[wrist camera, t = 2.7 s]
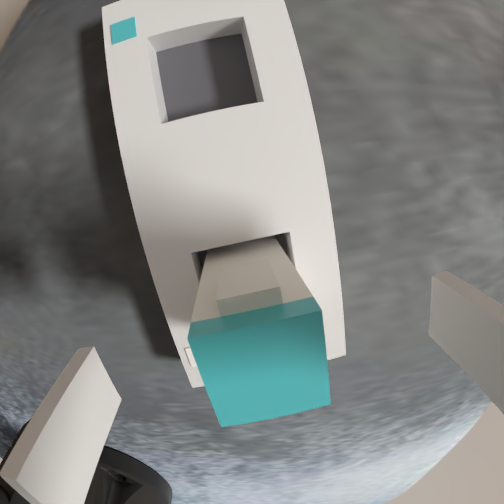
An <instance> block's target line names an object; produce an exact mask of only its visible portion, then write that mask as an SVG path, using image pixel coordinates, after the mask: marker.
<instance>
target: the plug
mask: <svg viewBox="0 0 504 504" xmlns="http://www.w3.org/2000/svg"><path fill="white" fill-rule="evenodd" d="M187 339H188V342H189V345H190V348H191V351H192V353H193V356H194V359H195V362H196V364H197V367H198V370H199V372H200V375H201V378H202V380H203V383H204V385H205V388H206V391H207V393H208V396H209V398H210V401H211V403H212V406H213V408H214V410H215V413H216V415H217V418H218V420H219V422H220V425H221V427H226V426H232V425H239V424H245V423H251V422H256V421H262V420H267V419H272V418H277V417H281V416H286V415H290V414H295V413H299V412H303V411H307V410H311V409H315V408H319V407H322V406H326V405H330V404H331V401H330V387H329V375H328V364H327V353H326V343H325V333H324V324H323V315H322V309H321V308H320V306H319V305H318V303H317V301H316V300H315V298H314V297H313V295H312V294H311V292H310V290H309V289H308V287H307V286H306V284H305V283H304V281H303V279H302V278H301V276H300V275H299V273H298V272H297V270H296V269H295V267H294V266H293V264H292V262H291V261H290V259H289V258H288V256H287V255H286V253H285V252H284V250H283V249H282V247H281V246H280V244H279V242H278V241H277V239H276V238H275V236H274V235H273V236H268V237H263V238H259V239H254V240H249V241H245V242H240V243H235V244H231V245H226V246H222V247H217V248H212V249H208V250H207V254H206V258H205V262H204V267H203V271H202V275H201V279H200V283H199V288H198V292H197V296H196V301H195V305H194V310H193V314H192V319H191V323H190V328H189V332H188V337H187Z"/></svg>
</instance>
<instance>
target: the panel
mask: <svg viewBox="0 0 504 504" xmlns="http://www.w3.org/2000/svg"><path fill="white" fill-rule="evenodd" d="M102 18H103V33H104V44H105V55H106V64H107V72H108V80H109V88H110V95H111V102H112V108H113V114H114V120H115V126H116V132H117V137H118V142H119V148H120V153H121V158H122V162H123V167H124V172H125V176H126V181H127V185H128V190H129V194H130V198H131V202H132V206H133V210H134V214H135V218H136V222H137V226H138V229H139V233H140V237H141V240H142V244H143V247H144V251H145V254H146V258H147V261H148V265H149V268H150V271H151V274H152V278H153V281H154V284H155V287H156V290H157V293H158V296H159V299H160V302H161V305H162V308H163V311H164V314H165V317H166V320H167V323H168V326H169V328H170V331H171V334H172V337H173V339H174V342H175V345H176V348H177V350H178V353H179V355H180V358H181V361H182V363H183V366H184V368H185V371H186V373H187V376H188V378H189V381H190V383H191V385H192V388H194V387H201V386H205V385H204V383H203V380H202V378H201V375H200V372H199V370H198V367H197V364H196V362H195V359H194V356H193V353H192V351H191V348H190V345H189V342H188V339H187V337H188V332H189V328H190V323H191V319H192V314H193V310H194V305H195V301H196V296H197V292H198V288H199V283H200V279H201V275H202V271H203V267H204V262H205V258H206V254H207V250H208V249H212V248H217V247H222V246H226V245H231V244H235V243H240V242H245V241H249V240H254V239H259V238H263V237H268V236H273V235H274V236H275V238H276V239H277V241H278V242H279V244H280V246H281V247H282V249H283V250H284V252H285V253H286V255H287V256H288V258H289V259H290V261H291V262H292V264H293V266H294V267H295V269H296V270H297V272H298V273H299V275H300V276H301V278H302V279H303V281H304V283H305V284H306V286H307V287H308V289H309V290H310V292H311V294H312V295H313V297H314V298H315V300H316V301H317V303H318V305H319V306H320V308H321V309H322V315H323V324H324V333H325V343H326V353H327V360H330V359H333V358H337V357H341V356H344V355H346V346H345V330H344V316H343V304H342V293H341V283H340V273H339V264H338V255H337V247H336V239H335V232H334V224H333V217H332V210H331V204H330V197H329V191H328V185H327V179H326V173H325V167H324V162H323V156H322V151H321V146H320V141H319V136H318V131H317V126H316V121H315V116H314V112H313V107H312V103H311V98H310V94H309V90H308V86H307V81H306V77H305V73H304V69H303V65H302V62H301V58H300V54H299V50H298V46H297V43H296V39H295V36H294V32H293V29H292V25H291V22H290V19H289V15H288V12H287V9H286V5H285V2H284V0H120V1H117V2H115V3H112V4H109V5H107V6H104V7H102Z"/></svg>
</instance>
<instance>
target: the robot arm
mask: <svg viewBox="0 0 504 504" xmlns="http://www.w3.org/2000/svg"><path fill="white" fill-rule="evenodd" d="M428 335H429V336H430V337H431V338H432V339H433V340H434V341H435V342H436V343H437V344H438V345H439V346H440V347H441V348H442V349H443V350H444V351H445V352H446V353H447V354H448V355H449V356H450V357H451V358H452V359H453V360H454V361H455V362H456V363H457V364H458V365H459V366H460V367H461V368H462V369H463V370H464V372H465V373H466V374H467V375H468V376H469V377H470V378H471V379H472V380H473V381H474V382H475V383H476V384H477V385H478V386H479V387H480V388H481V389H482V391H483V392H484V393H485V394H486V395H487V396H488V397H489V398H490V399H491V400H492V401H493V403H494V404H495V405H496V406H497V407H498V408H499V409H500V410H501V411H502V412H503V414H504V306H503V305H502V304H500V303H498V302H497V301H495V300H494V299H492V298H491V297H489V296H488V295H486V294H484V293H483V292H481V291H480V290H478V289H476V288H475V287H473V286H471V285H470V284H468V283H467V282H465V281H463V280H462V279H460V278H458V277H457V276H455V275H453V274H451V273H450V272H448V271H444V272H441V273H438V274H435V275H432V291H431V309H430V322H429V333H428ZM121 400H122V399H121V398H120V396H119V394H118V392H117V391H116V389H115V387H114V385H113V383H112V381H111V380H110V378H109V376H108V374H107V372H106V370H105V368H104V366H103V364H102V362H101V360H100V358H99V356H98V354H97V352H96V350H95V348H94V347H86V348H79V349H78V350H77V351H76V353H75V354H74V356H73V357H72V358H71V360H70V361H69V363H68V364H67V366H66V367H65V368H64V370H63V371H62V373H61V374H60V376H59V377H58V379H57V380H56V381H55V383H54V384H53V386H52V387H51V389H50V390H49V392H48V393H47V395H46V396H45V398H44V399H43V401H42V403H41V404H40V406H39V407H38V409H37V410H36V412H35V413H34V415H33V417H32V418H31V419H30V420H29V421H28V422H27V423H26V424H25V425H24V426H23V427H22V428H21V430H20V432H19V433H18V435H17V439H16V438H15V440H14V441H13V443H12V447H10V448H9V450H8V452H7V453H6V455H5V457H4V459H3V460H2V462H1V464H0V504H171V501H172V489H171V487H170V485H169V484H168V483H167V481H166V480H165V479H164V478H163V477H162V476H161V475H159V474H158V473H157V472H155V471H154V470H153V469H151V468H150V467H148V466H146V465H145V464H143V463H141V462H139V461H137V460H135V459H133V458H131V457H129V456H127V455H125V454H122V453H120V452H118V451H115V450H112V449H110V448H107V447H104V444H105V441H106V439H107V436H108V433H109V431H110V428H111V426H112V423H113V420H114V418H115V415H116V413H117V410H118V407H119V405H120V402H121Z"/></svg>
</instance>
